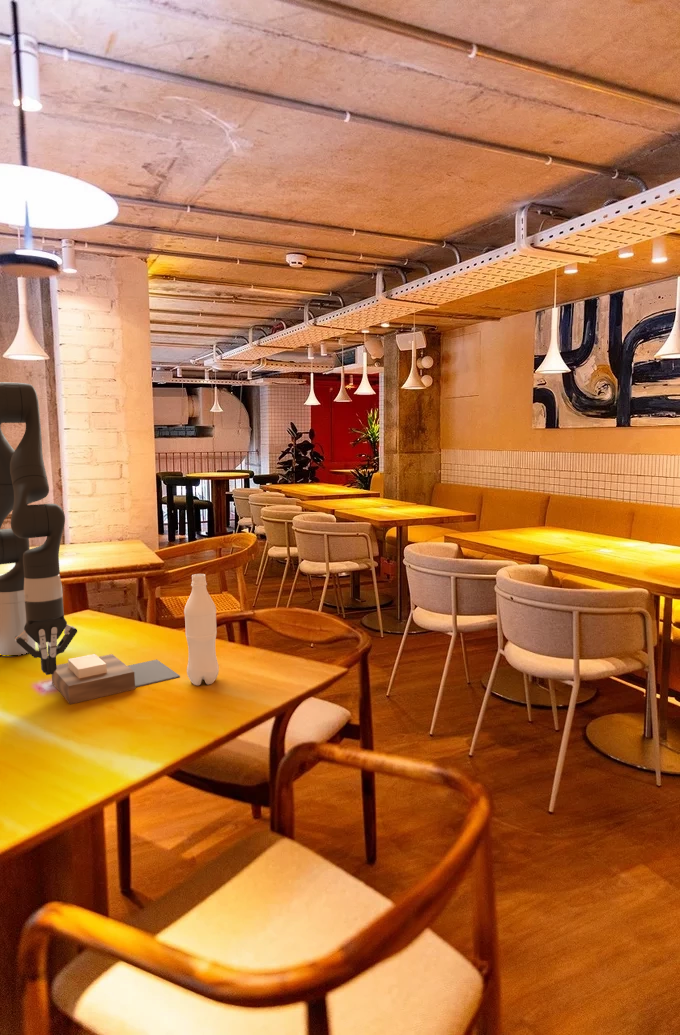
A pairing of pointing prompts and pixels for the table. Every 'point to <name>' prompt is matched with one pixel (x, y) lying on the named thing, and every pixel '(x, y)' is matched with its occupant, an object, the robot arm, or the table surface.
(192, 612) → the water bottle
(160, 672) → the mat
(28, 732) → the table surface
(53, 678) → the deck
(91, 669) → the white flat block
